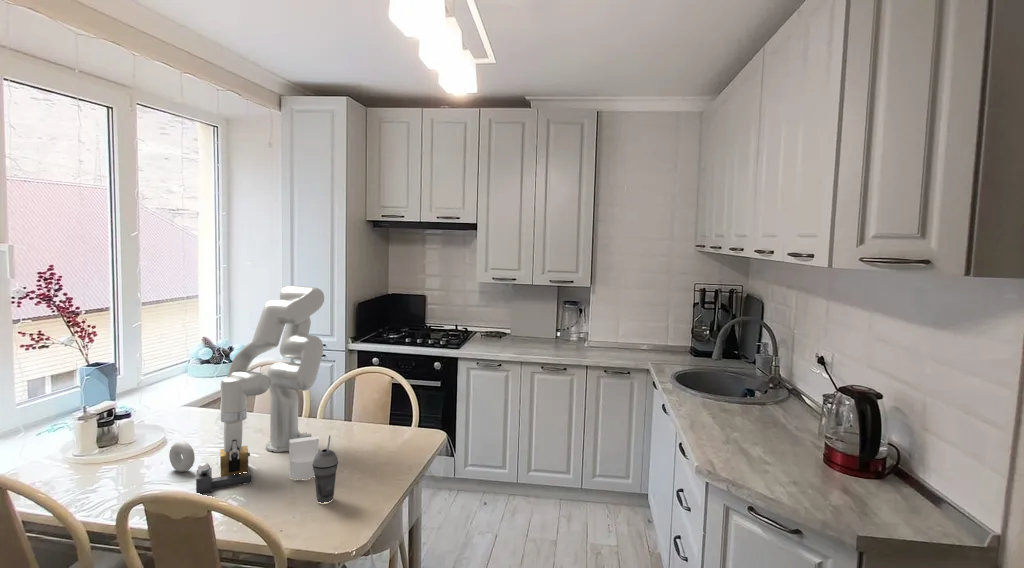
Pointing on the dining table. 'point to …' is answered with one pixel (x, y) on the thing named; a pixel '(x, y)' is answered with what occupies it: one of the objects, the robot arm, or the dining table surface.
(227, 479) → the rail
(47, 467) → the dining table surface
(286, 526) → the dining table surface
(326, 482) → the beverage cup
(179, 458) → the donut
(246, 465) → the block
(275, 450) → the robot arm
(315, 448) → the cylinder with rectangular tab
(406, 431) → the dining table surface
